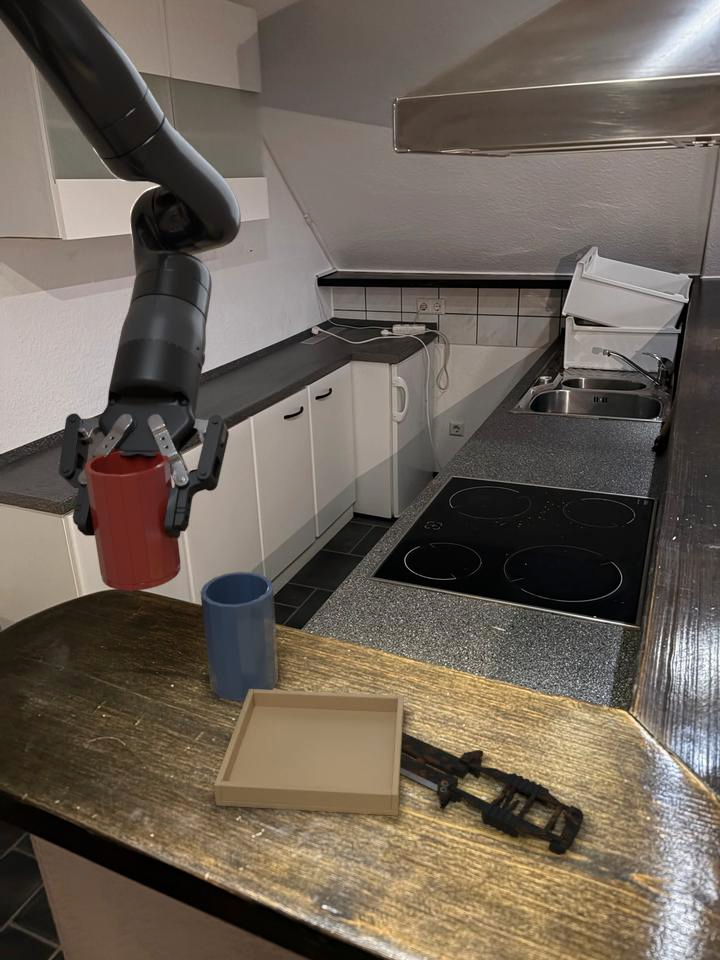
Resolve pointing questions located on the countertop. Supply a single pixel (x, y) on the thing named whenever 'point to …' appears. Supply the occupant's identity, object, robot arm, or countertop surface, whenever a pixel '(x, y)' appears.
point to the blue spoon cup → (240, 634)
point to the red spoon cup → (132, 520)
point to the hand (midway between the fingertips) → (128, 533)
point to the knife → (490, 811)
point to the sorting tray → (314, 753)
